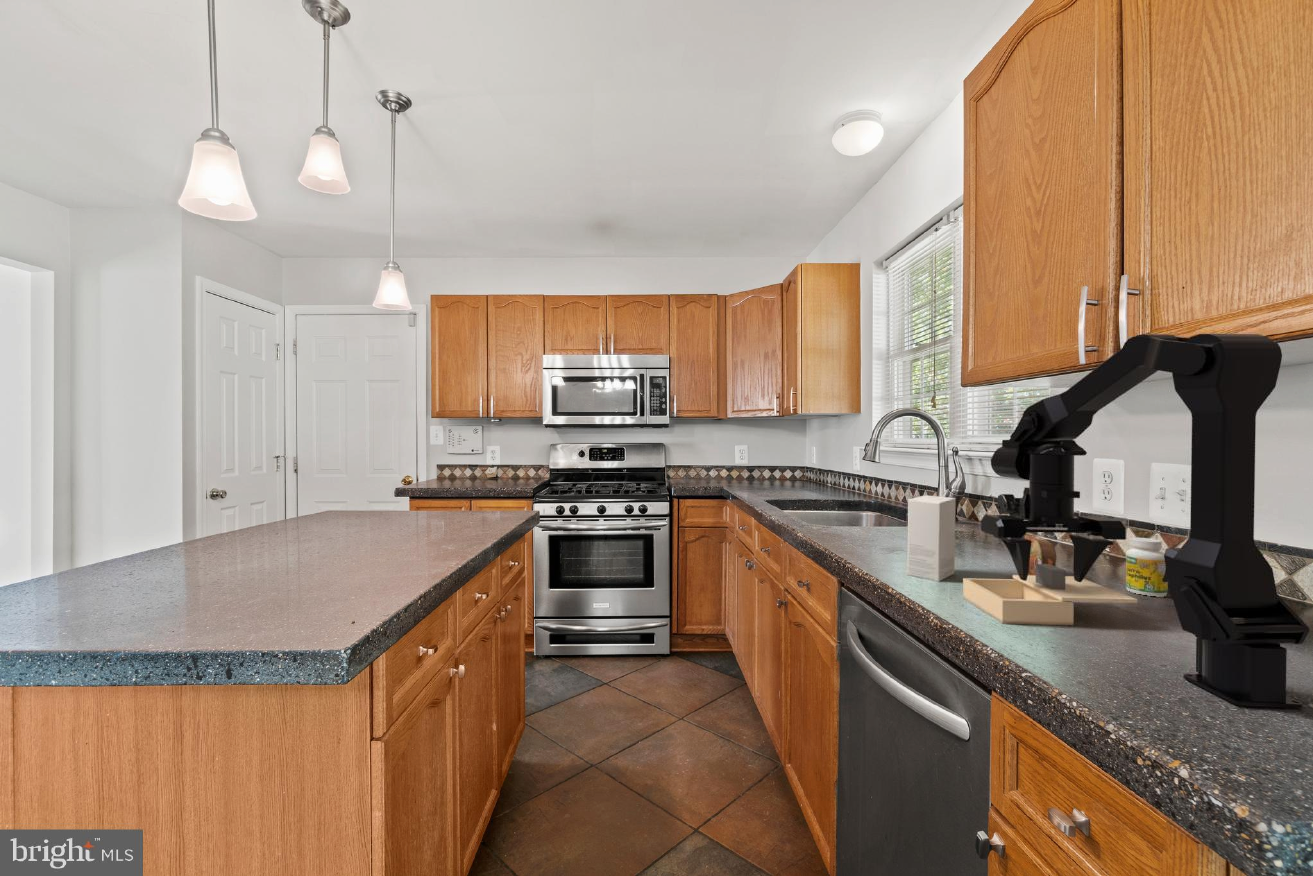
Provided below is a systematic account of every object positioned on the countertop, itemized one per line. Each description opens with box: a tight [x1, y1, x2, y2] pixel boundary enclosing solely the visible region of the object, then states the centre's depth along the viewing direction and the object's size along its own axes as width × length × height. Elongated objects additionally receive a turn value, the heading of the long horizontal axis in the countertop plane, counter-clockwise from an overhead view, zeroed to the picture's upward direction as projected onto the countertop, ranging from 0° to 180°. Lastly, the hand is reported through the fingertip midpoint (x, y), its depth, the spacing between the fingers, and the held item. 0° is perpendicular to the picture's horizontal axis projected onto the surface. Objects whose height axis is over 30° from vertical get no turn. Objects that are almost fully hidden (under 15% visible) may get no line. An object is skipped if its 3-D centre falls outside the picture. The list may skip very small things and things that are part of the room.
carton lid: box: [1012, 564, 1138, 604], centre depth 84 cm, size 12×10×4 cm
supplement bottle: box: [1125, 537, 1168, 598], centre depth 94 cm, size 5×5×10 cm
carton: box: [962, 577, 1075, 626], centre depth 85 cm, size 12×10×4 cm
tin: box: [1025, 533, 1057, 575], centre depth 103 cm, size 15×3×8 cm, turn 161°
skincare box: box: [906, 494, 956, 583], centre depth 106 cm, size 8×7×16 cm
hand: (1050, 580), depth 84 cm, fingers open, 8 cm apart
